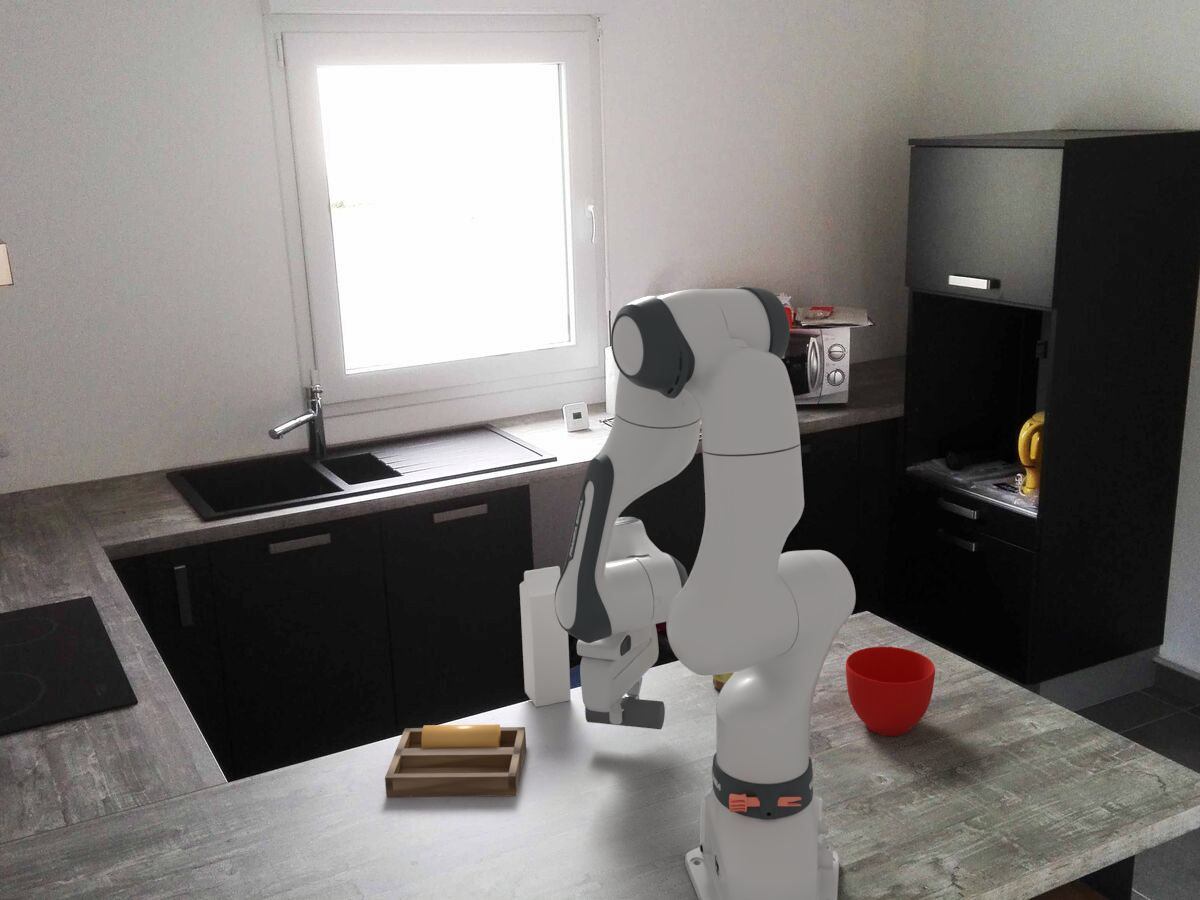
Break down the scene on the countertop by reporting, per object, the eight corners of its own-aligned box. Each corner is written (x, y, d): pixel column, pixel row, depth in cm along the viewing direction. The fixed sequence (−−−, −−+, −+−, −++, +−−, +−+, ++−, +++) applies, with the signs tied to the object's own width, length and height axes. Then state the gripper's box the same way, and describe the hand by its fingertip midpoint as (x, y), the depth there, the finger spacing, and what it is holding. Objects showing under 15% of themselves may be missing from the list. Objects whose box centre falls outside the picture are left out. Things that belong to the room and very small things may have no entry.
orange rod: (501, 737, 172) (499, 718, 170) (498, 758, 169) (496, 739, 167) (427, 738, 173) (424, 719, 171) (423, 759, 169) (420, 740, 167)
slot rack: (516, 795, 160) (515, 776, 159) (386, 797, 161) (384, 777, 160) (526, 745, 173) (525, 727, 173) (406, 746, 174) (404, 728, 173)
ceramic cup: (930, 697, 184) (933, 639, 182) (933, 750, 169) (936, 687, 166) (847, 690, 188) (849, 633, 185) (842, 741, 172) (843, 679, 169)
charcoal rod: (665, 722, 171) (664, 696, 171) (658, 734, 168) (656, 708, 167) (594, 715, 175) (593, 690, 174) (585, 726, 171) (584, 701, 170)
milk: (524, 692, 191) (517, 565, 185) (559, 685, 193) (553, 559, 187) (535, 708, 185) (528, 577, 180) (571, 700, 187) (565, 571, 182)
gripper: (628, 599, 178) (632, 682, 181) (570, 648, 160) (576, 741, 163) (666, 603, 176) (670, 688, 179) (612, 654, 158) (617, 747, 161)
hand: (625, 713), depth 171 cm, fingers closed on charcoal rod, 4 cm apart
